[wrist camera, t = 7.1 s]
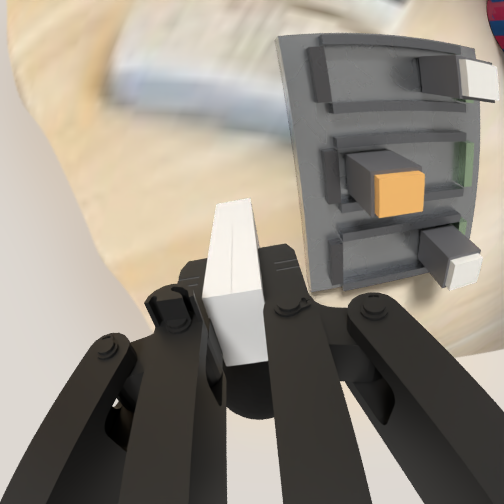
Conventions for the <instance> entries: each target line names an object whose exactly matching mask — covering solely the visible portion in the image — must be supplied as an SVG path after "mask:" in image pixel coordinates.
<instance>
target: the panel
mask: <svg viewBox="0 0 504 504" xmlns="http://www.w3.org/2000/svg"><path fill="white" fill-rule="evenodd" d="M275 45H276V50H277V55H278V61H279V66H280V72H281V77H282V83H283V89H284V95H285V101H286V107H287V114H288V120H289V127H290V133H291V140H292V147H293V154H294V162H295V169H296V177H297V185H298V193H299V202H300V210H301V219H302V229H303V239H304V249H305V259H306V271H307V281H308V284H309V287H310V290H311V292H315V291H321V290H326V289H331V288H336V287H342V290H343V291H347V290H352V289H357V288H362V287H367V286H371V285H376V284H381V283H385V282H390V281H394V280H399V279H403V278H407V277H412V276H416V275H420V274H424V273H429V271H428V270H427V269H426V268H425V267H424V265H423V264H422V263H421V262H420V261H419V259H418V252H419V244H420V235H421V230H425V229H430V228H436V227H441V226H447V225H453V226H454V227H455V228H457V229H458V230H459V231H460V232H461V233H462V234H464V235H465V236H466V237H467V238H468V239H470V233H471V228H472V222H473V215H474V208H475V200H476V192H477V182H478V170H479V154H480V101H476V100H467V99H458V98H452V97H446V96H440V95H434V94H426V93H422V83H421V73H420V65H419V58H418V57H419V56H437V55H458V56H463V57H468V58H473V59H476V55H475V49H473V48H469V47H465V46H460V45H456V44H451V43H445V42H440V41H434V40H428V39H421V38H413V37H405V36H395V35H382V34H364V33H318V34H299V35H286V36H278V37H277V38H276V39H275ZM381 150H391V151H393V152H395V153H397V154H399V155H401V156H403V157H405V158H407V159H409V160H411V161H413V162H415V163H416V164H418V165H420V166H422V173H424V174H425V186H424V204H423V211H422V212H415V213H409V214H402V215H396V216H390V217H383V218H379V217H378V216H376V217H370V216H369V214H368V213H367V212H366V211H365V210H364V209H363V208H362V207H361V206H360V205H359V204H358V202H357V201H356V200H355V199H354V198H353V197H352V196H351V195H350V194H349V193H348V191H347V174H346V160H345V154H349V153H359V152H369V151H381Z"/></svg>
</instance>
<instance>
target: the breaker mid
mask: <svg viewBox="0 0 504 504" xmlns="http://www.w3.org/2000/svg"><path fill="white" fill-rule="evenodd" d="M345 160H346V174H347V191H348V193H349V194H350V195H351V196H352V197H353V198H354V199H355V200H356V201H357V202H358V204H359V205H360V206H361V207H362V208H363V209H364V210H365V211H366V212H367V213H368V214H369V216H370V217H376V216H378V217H379V218H383V217H390V216H396V215H402V214H409V213H415V212H422V211H423V204H424V186H425V174H424V173H422V166H420V165H418V164H416V163H415V162H413V161H411V160H409V159H407V158H405V157H403V156H401V155H399V154H397V153H395V152H393V151H391V150H381V151H369V152H359V153H349V154H345Z"/></svg>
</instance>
